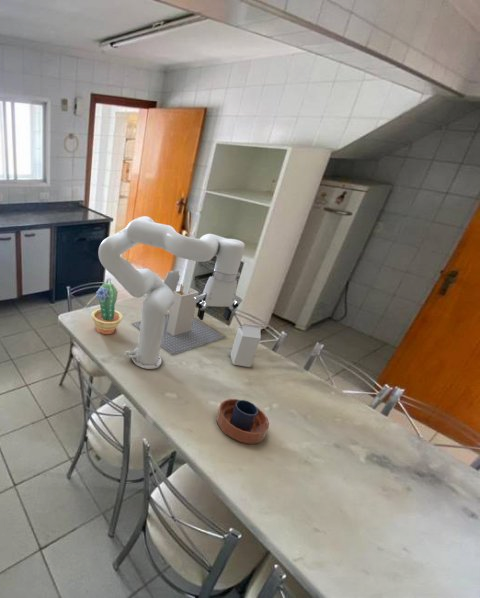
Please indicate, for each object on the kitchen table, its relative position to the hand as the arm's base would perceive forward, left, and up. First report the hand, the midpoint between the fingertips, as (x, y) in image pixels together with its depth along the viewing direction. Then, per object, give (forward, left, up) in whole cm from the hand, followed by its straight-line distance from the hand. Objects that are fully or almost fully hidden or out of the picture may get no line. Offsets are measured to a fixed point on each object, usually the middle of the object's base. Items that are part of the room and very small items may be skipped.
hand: (212, 318), depth 120 cm
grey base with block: (+4, +37, -28) cm, 47 cm away
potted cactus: (-33, +37, -28) cm, 57 cm away
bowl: (+6, -24, -28) cm, 38 cm away
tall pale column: (+6, +64, -28) cm, 70 cm away
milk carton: (+24, +12, -28) cm, 39 cm away
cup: (+6, -24, -28) cm, 37 cm away
